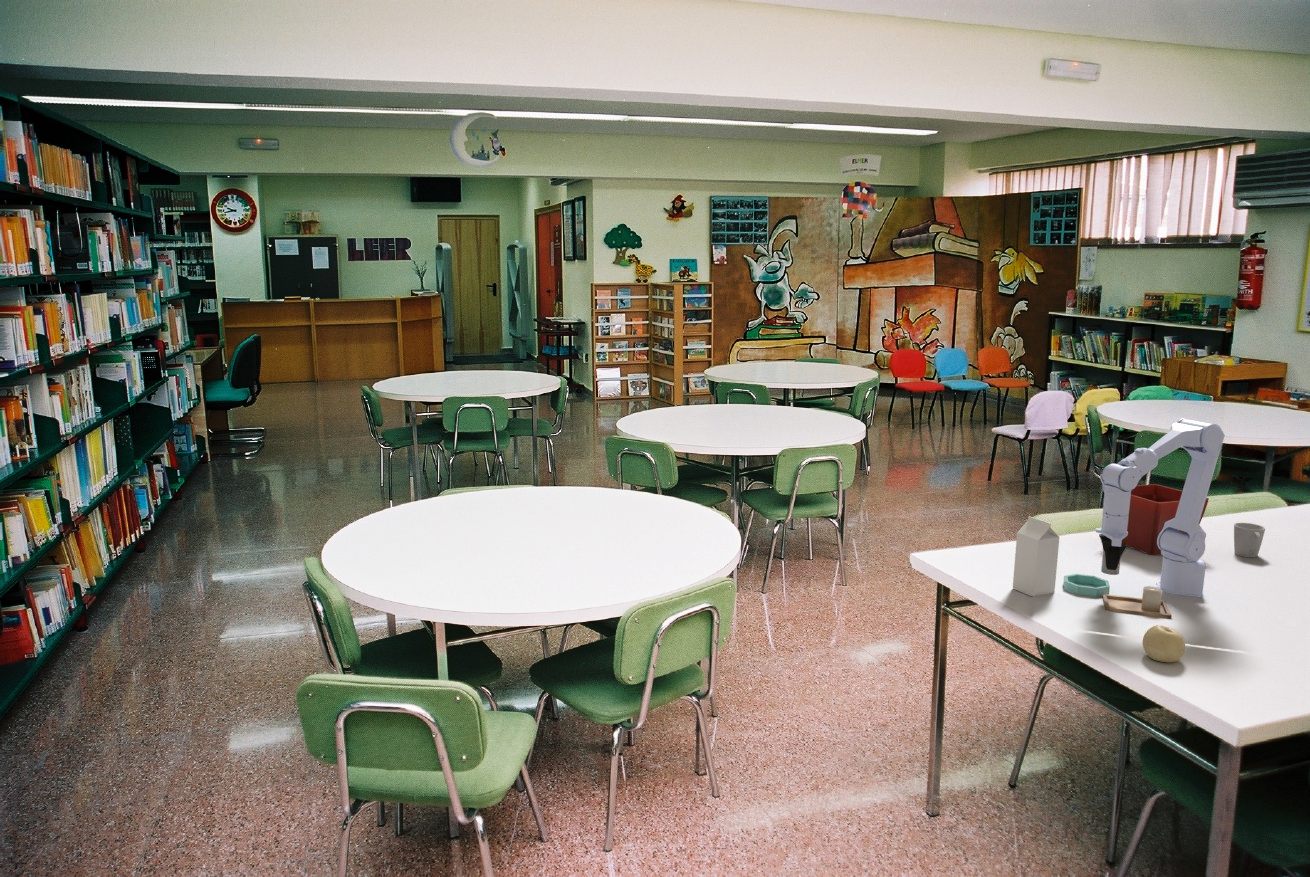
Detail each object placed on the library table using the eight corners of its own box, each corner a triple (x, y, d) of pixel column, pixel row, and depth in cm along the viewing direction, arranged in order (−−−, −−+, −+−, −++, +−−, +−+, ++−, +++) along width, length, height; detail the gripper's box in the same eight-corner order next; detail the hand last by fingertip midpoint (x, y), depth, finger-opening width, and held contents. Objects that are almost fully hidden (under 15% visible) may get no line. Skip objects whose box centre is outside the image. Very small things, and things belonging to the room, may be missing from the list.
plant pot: (1150, 536, 286) (1156, 483, 282) (1204, 554, 268) (1211, 498, 265) (1100, 541, 280) (1106, 487, 276) (1152, 560, 262) (1158, 503, 259)
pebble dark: (1118, 570, 230) (1120, 551, 229) (1119, 575, 226) (1121, 556, 225) (1100, 568, 232) (1102, 549, 231) (1101, 573, 228) (1103, 554, 227)
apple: (1130, 649, 201) (1146, 617, 201) (1166, 668, 199) (1182, 636, 200) (1144, 652, 193) (1161, 619, 193) (1182, 672, 191) (1198, 639, 192)
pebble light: (1158, 607, 225) (1160, 587, 224) (1161, 612, 221) (1163, 592, 220) (1140, 604, 226) (1142, 585, 225) (1142, 610, 223) (1144, 590, 222)
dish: (1106, 586, 240) (1107, 577, 240) (1109, 600, 231) (1110, 590, 230) (1062, 581, 244) (1063, 572, 243) (1064, 594, 234) (1065, 584, 234)
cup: (1253, 551, 271) (1257, 523, 269) (1271, 561, 261) (1275, 532, 260) (1225, 550, 272) (1229, 522, 270) (1242, 560, 262) (1246, 531, 261)
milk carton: (1033, 597, 232) (1039, 524, 229) (1012, 588, 239) (1018, 517, 235) (1054, 594, 235) (1061, 521, 231) (1033, 585, 241) (1039, 514, 238)
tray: (1165, 605, 227) (1165, 601, 227) (1171, 620, 218) (1171, 615, 218) (1102, 598, 232) (1102, 593, 232) (1105, 612, 223) (1105, 607, 223)
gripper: (1094, 504, 234) (1090, 556, 237) (1100, 519, 221) (1095, 573, 223) (1125, 507, 232) (1120, 559, 234) (1133, 522, 219) (1127, 577, 221)
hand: (1110, 566), depth 229 cm, fingers closed on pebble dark, 4 cm apart
